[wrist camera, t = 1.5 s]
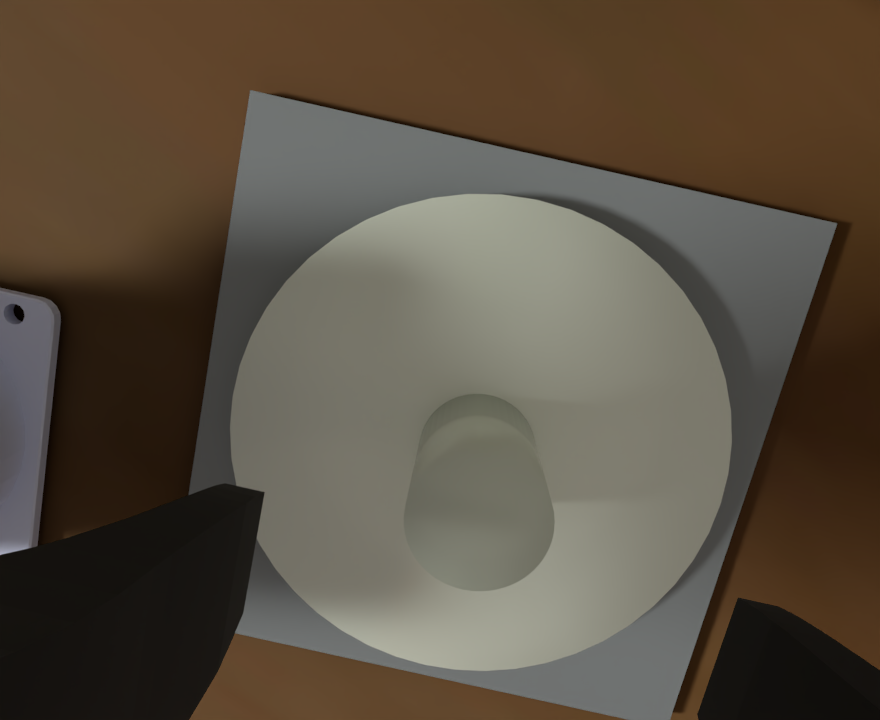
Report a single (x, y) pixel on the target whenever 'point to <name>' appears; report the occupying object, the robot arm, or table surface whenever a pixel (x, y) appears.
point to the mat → (559, 183)
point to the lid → (481, 432)
